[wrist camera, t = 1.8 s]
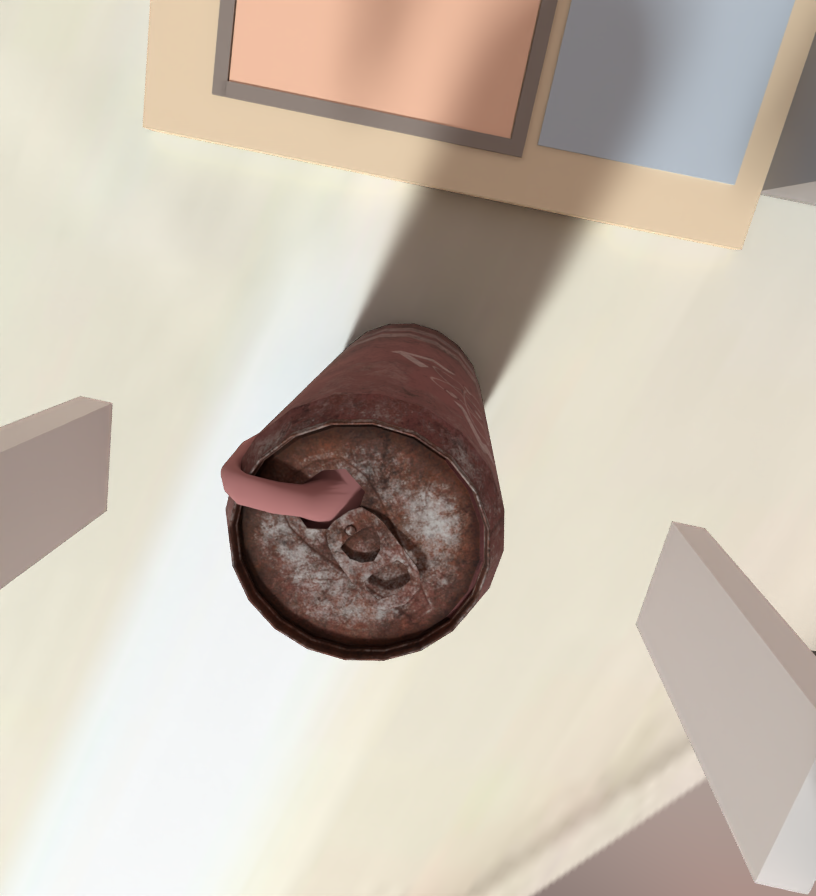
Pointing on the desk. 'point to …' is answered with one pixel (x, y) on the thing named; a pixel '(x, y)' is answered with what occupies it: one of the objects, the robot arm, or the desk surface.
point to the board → (500, 97)
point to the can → (370, 500)
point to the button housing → (797, 143)
